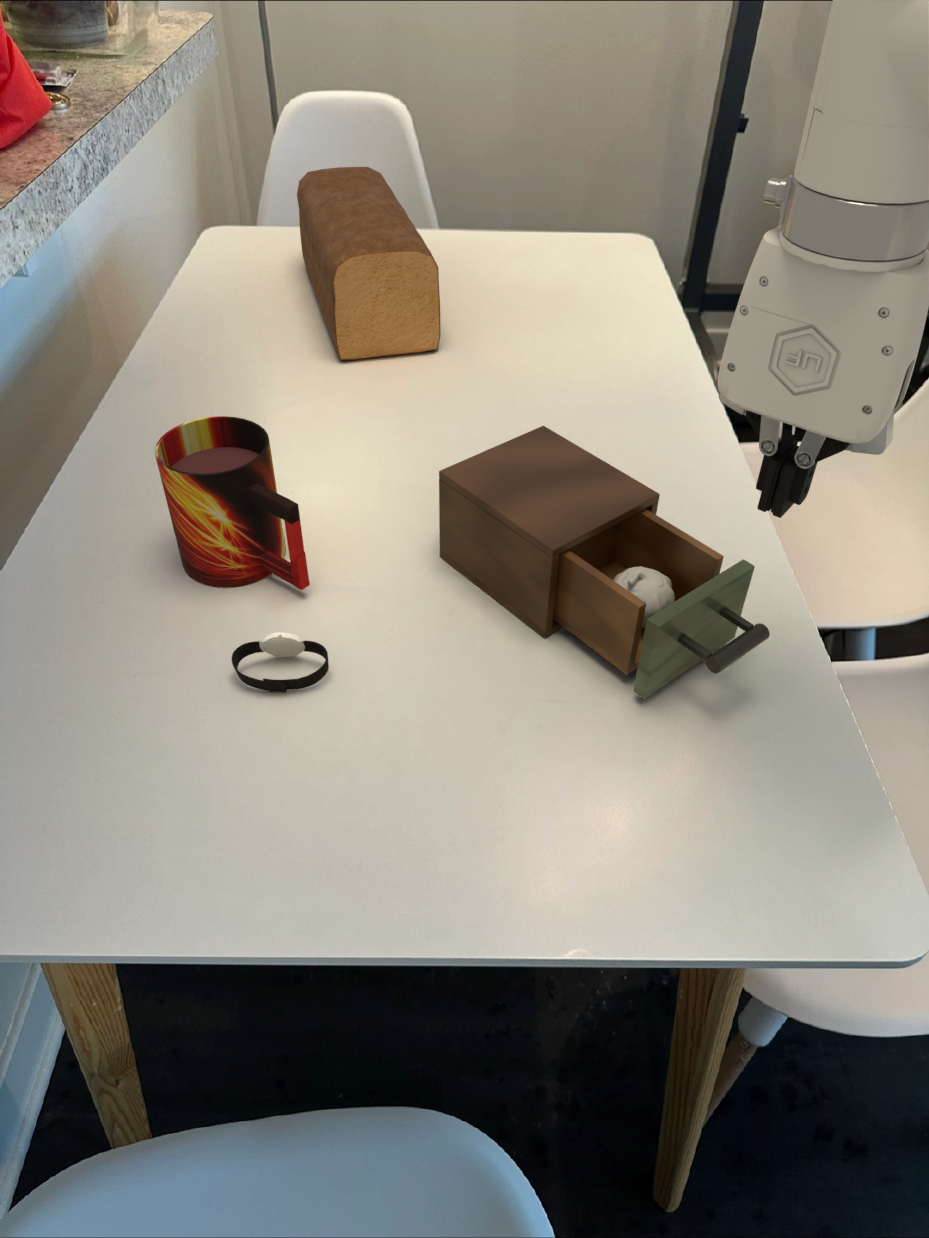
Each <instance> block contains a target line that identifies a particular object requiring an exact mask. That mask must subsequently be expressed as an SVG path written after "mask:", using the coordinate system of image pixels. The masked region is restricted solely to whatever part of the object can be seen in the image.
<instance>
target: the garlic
mask: <svg viewBox="0 0 929 1238" xmlns="http://www.w3.org/2000/svg"><path fill="white" fill-rule="evenodd" d="M613 581H615V582H616V583H618V584H619V585H621V586H622V587H624V588H625V589H626V590H628V591H629V592H631V593H632V594H634V595H635V596H637V597H638V598H640V599H641V600H642V601H644V602H645V603H646V608H645V613H644V619H643V624H642V628H645V627H646V622H647V619H648V618H649V617H651V616H652V615H654V614H656V613H657V612H659V611H660V610H662V609H664V608H665V607H667V606H668V605H670V604H672V603H673V602H674V601H675V596H674V592H673V590H672V583H671V580H670V579H669V578H668V577H667V576H665V575H663V574H661V573H660V572H658V571H656V570H653V569H649V568H645V567H642V566H640V567H632V568H628V569H626V570H625V571H624V572H622V573H620V574H618V575H617V576H616V577H615V578H614V579H613Z"/></svg>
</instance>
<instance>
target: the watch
mask: <svg viewBox="0 0 929 1238" xmlns="http://www.w3.org/2000/svg"><path fill="white" fill-rule="evenodd" d="M303 652H308V653H313V654H316V655H319V656H321V657H323V658H324V660H325V661H324V663H323V664H322V665H321V667H319V668H318V669H317V670H315V671H313V672H312V673H310V674H307V675H306V676H302V677H298V678H288V679H272V678H265V677H264V678H263V679H258V678H255V677H251V676H249V675H246V674H244V673H242V672H241V671H239V669H238V667H239V664H240V662H241V661H242V660H243V659H245V658H246V657H248V656H251V655H254V654H259V653H266V654H268V655H270V656H274V657H280V658H291V657H296V656H299V655H300V654H302V653H303ZM231 665H232V667H233V669H234V671H235V673H236V676H237V677H238V679H239V680H240V681H241V682H242V683H243V684H244V685H246V686H249V687H250V688H254V689H257V690H261V691H265V692H270V693H273V692H274V693H286V692H287V691H295V690H302V689H306V688H309V687H311V686H314V685H315V684H317V683H318V682H320V681H321V680H323V678H324V677H326V675H327V673H328V671H329V667H330V666H329V665H330V663H329V653H328V650H327V649H326V647H325V646H324V645H322V644H321V643H319V642H317V641H312V640H305V639H301V637H300V636H299V635H296V634H293V633H289V632H283V631H281V632H279V631H278V632H277V631H276V632H272V633H270V634H268V635H266V636H265V637H264V638H263V640H258V641H257V640H255V641H254V640H253V641H250V642H245V643H243V644H241V645H239V646H237V647H236V648H235V650H234V651H233V652H232V654H231Z"/></svg>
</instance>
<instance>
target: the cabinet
mask: <svg viewBox="0 0 929 1238" xmlns="http://www.w3.org/2000/svg"><path fill="white" fill-rule="evenodd" d="M659 501H660V493H659V492H658V491H656V490H654V489H652V488H650V487H649V486H647V485H646V484H644V483H642V482H641V481H639V480H637V479H636V478H634V477H632V476H630V475H628V474H626V473H625V472H624V471H622V470H621V469H618V468H616V467H615V466H613V465H612V464H610V463H608V462H606V461H604V460H603V459H601V458H599V457H598V456H596V455H594V454H592V453H591V452H589V451H588V450H587V449H584V448H582V447H580V446H579V445H577V444H576V443H574V442H572V441H571V440H569V439H568V438H565V437H564V436H562V435H560V434H558V433H557V432H555V431H554V430H552V429H551V428H548V427H547V426H545V425H541V426H539V427H537V428H534V429H532V430H529V431H528V432H525V433H523V434H521V435H518V436H516V437H513V438H511V439H509V440H507V441H504V442H502V443H500V444H498V445H495V446H493V447H491V448H488V449H486V450H484V451H482V452H479V453H477V454H475V455H472V456H471V457H467V458H465V459H463V460H461V461H459V462H456V463H454V464H452V465H449V466H447V467H444V468H442V469H440V470H439V471H438V509H439V510H438V513H439V515H438V517H439V518H438V519H439V520H438V521H439V523H438V525H439V530H438V531H439V558H441V559H442V560H444V561H445V562H446V563H447V564H448V565H450V566H451V567H453V568H454V569H455V570H456V571H457V572H459V573H460V574H462V575H463V576H464V577H465V578H466V579H468V580H469V581H470V582H472V583H473V584H474V585H475V586H477V587H478V588H479V589H481V590H482V591H483V592H484V593H486V594H487V595H488V596H489V597H491V598H492V599H493V600H495V602H497V603H498V604H500V605H501V606H502V607H504V609H506V610H507V611H509V612H510V613H511V614H513V615H514V616H515V617H516V618H518V619H519V620H520V621H522V622H523V623H524V624H525V625H527V626H528V627H529V628H531V629H532V630H533V631H534V632H535V633H537V634H538V635H539V636H541V637H542V638H543V639H547V638H549V637H550V636H552V635H554V634H555V633H557V632H559V631H561V630H562V629H565V628H564V627H563V626H561V625H560V624H559V623H558V622H556V621H555V620H554V619H553V613H554V603H555V593H556V583H557V573H558V564H559V554H561V553H563V552H564V551H566V550H568V549H570V548H572V547H574V546H576V545H578V544H579V543H581V542H583V541H585V540H587V539H589V538H591V537H593V536H594V535H596V534H598V533H600V532H602V531H604V530H606V529H608V528H609V527H611V526H613V525H615V524H617V523H619V522H621V521H623V520H624V519H626V518H628V517H630V516H632V515H634V514H636V513H638V512H639V511H641V510H643V509H647V510H649V511H650V512H652V513H654V514H655V515H657V511H658V508H659Z"/></svg>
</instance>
